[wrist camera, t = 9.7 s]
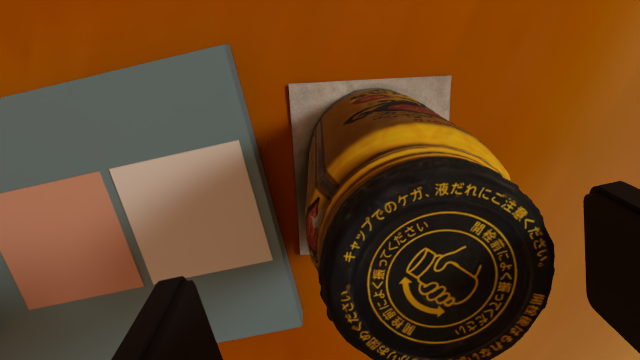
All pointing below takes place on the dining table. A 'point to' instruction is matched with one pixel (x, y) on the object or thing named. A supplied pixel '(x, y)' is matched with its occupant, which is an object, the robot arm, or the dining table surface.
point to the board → (135, 208)
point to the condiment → (413, 223)
